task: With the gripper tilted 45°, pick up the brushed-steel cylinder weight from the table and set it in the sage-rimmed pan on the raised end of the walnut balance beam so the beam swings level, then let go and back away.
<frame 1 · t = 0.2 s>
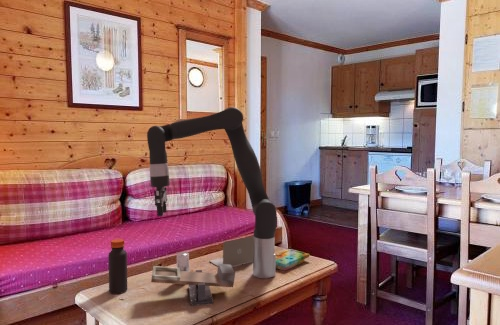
hand: (162, 214, 154), 28 cm above the table, tool pointing down, fingers open, 8 cm apart
laptop: (231, 262, 181), on the table
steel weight: (182, 282, 156), on the table
bottle: (118, 291, 147), on the table
fulcrum stand: (200, 295, 143), on the table
puzzle game: (287, 264, 180), on the table
balance beam: (193, 272, 142), point 9 cm above the table, hinge at -8.0°
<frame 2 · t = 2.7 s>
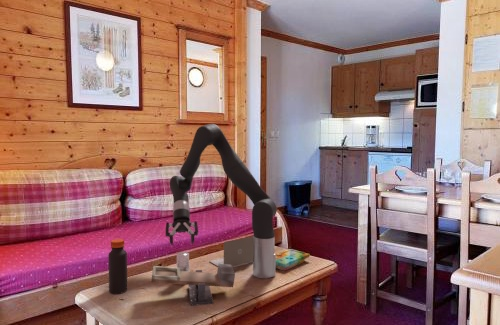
hand: (182, 243, 163), 14 cm above the table, tool tilted 45°, fingers open, 8 cm apart
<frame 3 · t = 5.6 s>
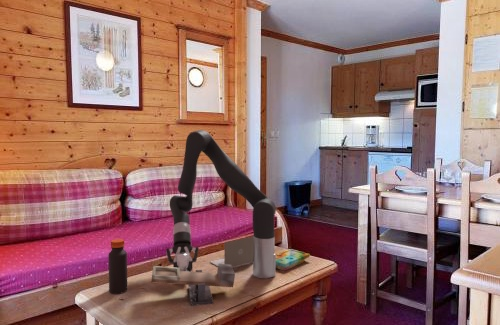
hand: (183, 271, 153), 5 cm above the table, tool tilted 45°, fingers closed on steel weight, 5 cm apart
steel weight: (182, 282, 156), on the table, touching gripper
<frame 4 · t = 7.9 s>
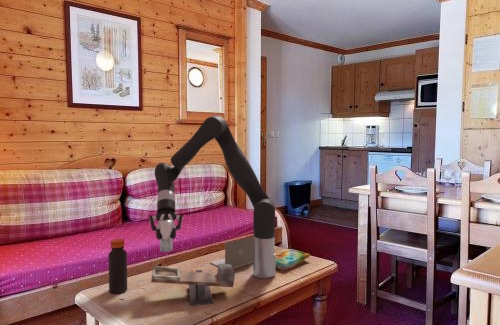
hand: (166, 238, 149), 20 cm above the table, tool tilted 45°, fingers closed on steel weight, 5 cm apart
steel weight: (166, 249, 152), point 15 cm above the table, touching gripper
when the fingers open (16 cm above the table, at t = 10.6 s): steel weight drops 2 cm, resting on balance beam.
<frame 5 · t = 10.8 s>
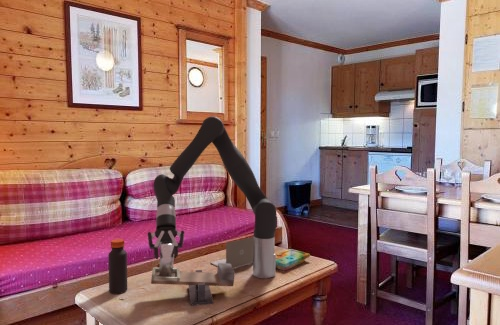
hand: (166, 257, 138), 16 cm above the table, tool tilted 45°, fingers open, 6 cm apart
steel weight: (166, 275, 140), point 9 cm above the table, touching balance beam, gripper
balance beam: (193, 273, 142), point 9 cm above the table, hinge at -6.2°, touching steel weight
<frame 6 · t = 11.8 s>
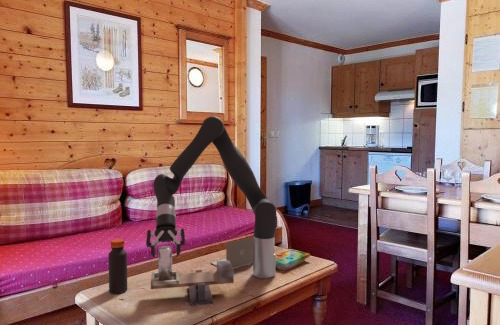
hand: (165, 255, 138), 17 cm above the table, tool tilted 45°, fingers open, 8 cm apart
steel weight: (165, 279, 140), point 7 cm above the table, touching balance beam
balance beam: (192, 274, 142), point 9 cm above the table, hinge at 0.2°, touching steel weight
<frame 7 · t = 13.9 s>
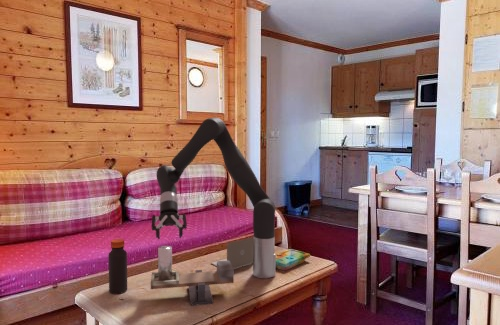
hand: (169, 237, 152), 19 cm above the table, tool tilted 45°, fingers open, 8 cm apart
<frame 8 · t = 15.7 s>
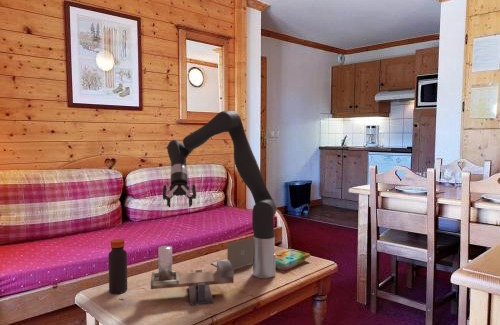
hand: (179, 206, 160), 31 cm above the table, tool tilted 45°, fingers open, 8 cm apart
at the end: balance beam at +0° (first picture: -8°); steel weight inside the target area on the balance beam (0.5 cm from its centre), point 1.2 cm above the balance beam's base; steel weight tilted 0° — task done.
